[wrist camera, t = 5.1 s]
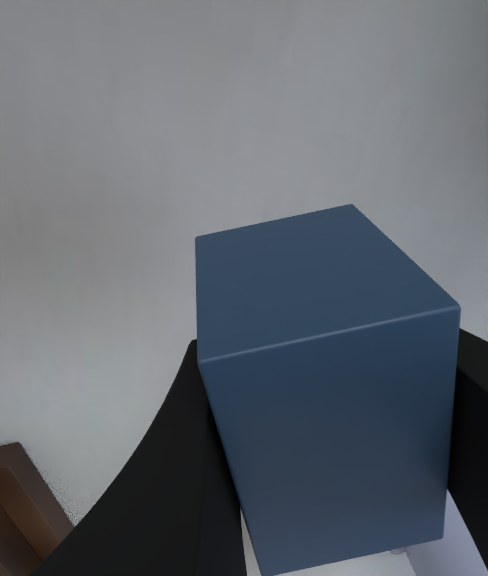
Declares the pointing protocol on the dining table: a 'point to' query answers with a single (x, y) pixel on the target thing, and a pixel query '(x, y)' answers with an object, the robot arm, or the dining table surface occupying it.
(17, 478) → the wooden display stand
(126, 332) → the dining table surface
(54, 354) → the dining table surface
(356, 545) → the blue rectangular block
